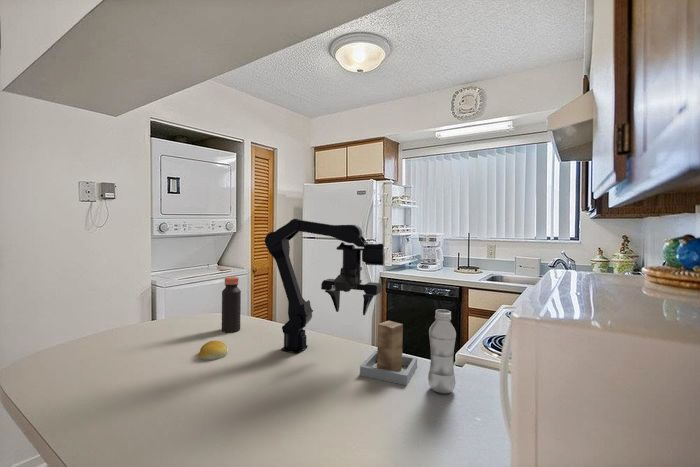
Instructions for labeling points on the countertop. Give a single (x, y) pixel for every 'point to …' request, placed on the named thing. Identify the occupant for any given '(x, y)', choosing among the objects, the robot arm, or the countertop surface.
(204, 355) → the bread roll
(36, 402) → the countertop surface
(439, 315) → the plastic bottle
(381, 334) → the walnut block
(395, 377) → the walled pen
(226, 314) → the vinegar
